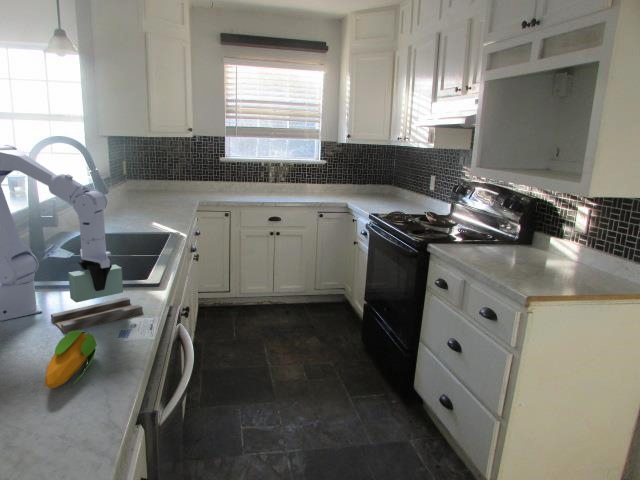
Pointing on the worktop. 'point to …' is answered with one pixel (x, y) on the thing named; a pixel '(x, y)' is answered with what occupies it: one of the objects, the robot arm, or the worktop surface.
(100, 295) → the green block
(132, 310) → the track
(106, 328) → the worktop surface
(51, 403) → the worktop surface
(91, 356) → the corn
